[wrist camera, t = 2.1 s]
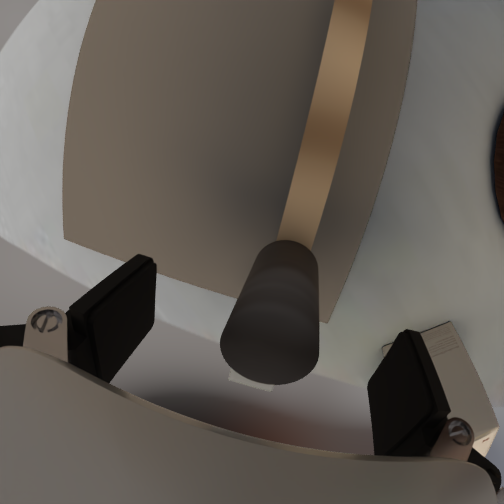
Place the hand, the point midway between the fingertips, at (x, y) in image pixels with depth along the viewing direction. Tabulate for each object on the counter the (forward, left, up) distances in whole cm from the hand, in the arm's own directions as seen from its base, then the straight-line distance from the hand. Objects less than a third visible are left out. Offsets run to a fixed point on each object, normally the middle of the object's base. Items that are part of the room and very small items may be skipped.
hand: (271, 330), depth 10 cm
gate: (-7, 0, -11) cm, 13 cm away
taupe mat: (-8, -8, -12) cm, 17 cm away
